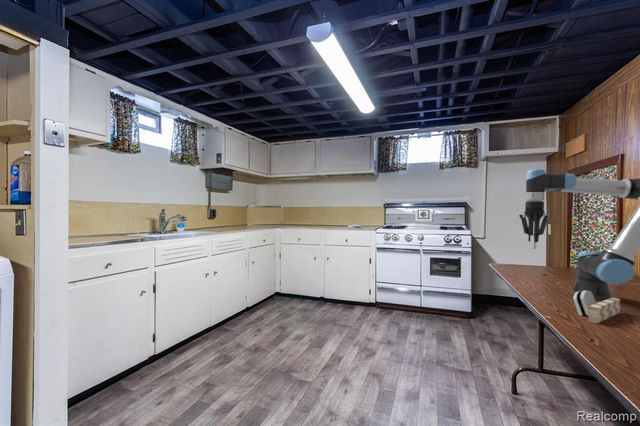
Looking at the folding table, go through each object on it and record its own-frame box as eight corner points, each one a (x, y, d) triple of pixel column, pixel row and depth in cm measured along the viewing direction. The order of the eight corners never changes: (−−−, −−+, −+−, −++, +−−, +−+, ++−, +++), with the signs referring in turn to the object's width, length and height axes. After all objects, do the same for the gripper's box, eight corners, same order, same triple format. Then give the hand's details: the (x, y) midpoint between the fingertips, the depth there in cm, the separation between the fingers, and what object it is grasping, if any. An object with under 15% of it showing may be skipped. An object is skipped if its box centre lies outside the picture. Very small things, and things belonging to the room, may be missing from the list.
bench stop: (611, 311, 130) (612, 297, 130) (619, 312, 128) (620, 298, 128) (588, 321, 117) (588, 306, 117) (596, 323, 115) (597, 308, 115)
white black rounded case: (594, 318, 120) (584, 293, 123) (580, 319, 124) (570, 294, 127) (603, 310, 131) (593, 287, 133) (589, 311, 134) (580, 288, 137)
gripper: (516, 200, 151) (515, 247, 152) (546, 200, 140) (544, 250, 141) (524, 201, 155) (522, 246, 156) (553, 201, 144) (552, 249, 144)
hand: (533, 248), depth 148 cm, fingers closed
